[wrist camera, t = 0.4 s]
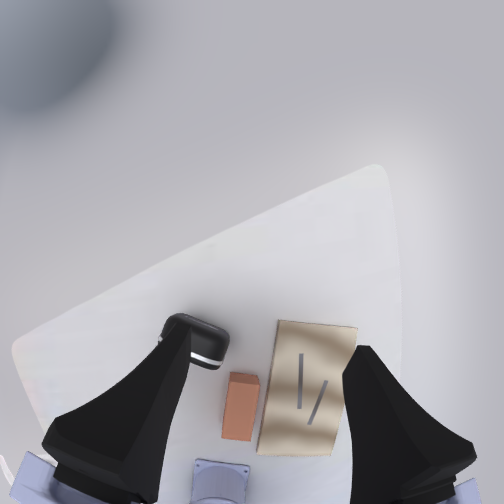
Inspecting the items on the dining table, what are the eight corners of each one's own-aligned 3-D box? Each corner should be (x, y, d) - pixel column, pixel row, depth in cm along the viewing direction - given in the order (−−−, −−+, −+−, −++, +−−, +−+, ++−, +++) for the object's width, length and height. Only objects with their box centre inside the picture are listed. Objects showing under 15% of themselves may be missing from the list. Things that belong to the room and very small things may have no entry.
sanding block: (248, 426, 34) (250, 441, 30) (222, 423, 34) (221, 438, 29) (256, 375, 36) (260, 385, 31) (230, 371, 36) (229, 381, 31)
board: (328, 451, 34) (330, 455, 32) (256, 450, 34) (257, 454, 32) (353, 327, 38) (357, 328, 36) (278, 319, 37) (280, 320, 36)
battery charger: (233, 328, 37) (233, 338, 26) (223, 354, 36) (219, 374, 25) (184, 308, 37) (164, 310, 26) (175, 334, 36) (151, 346, 25)
